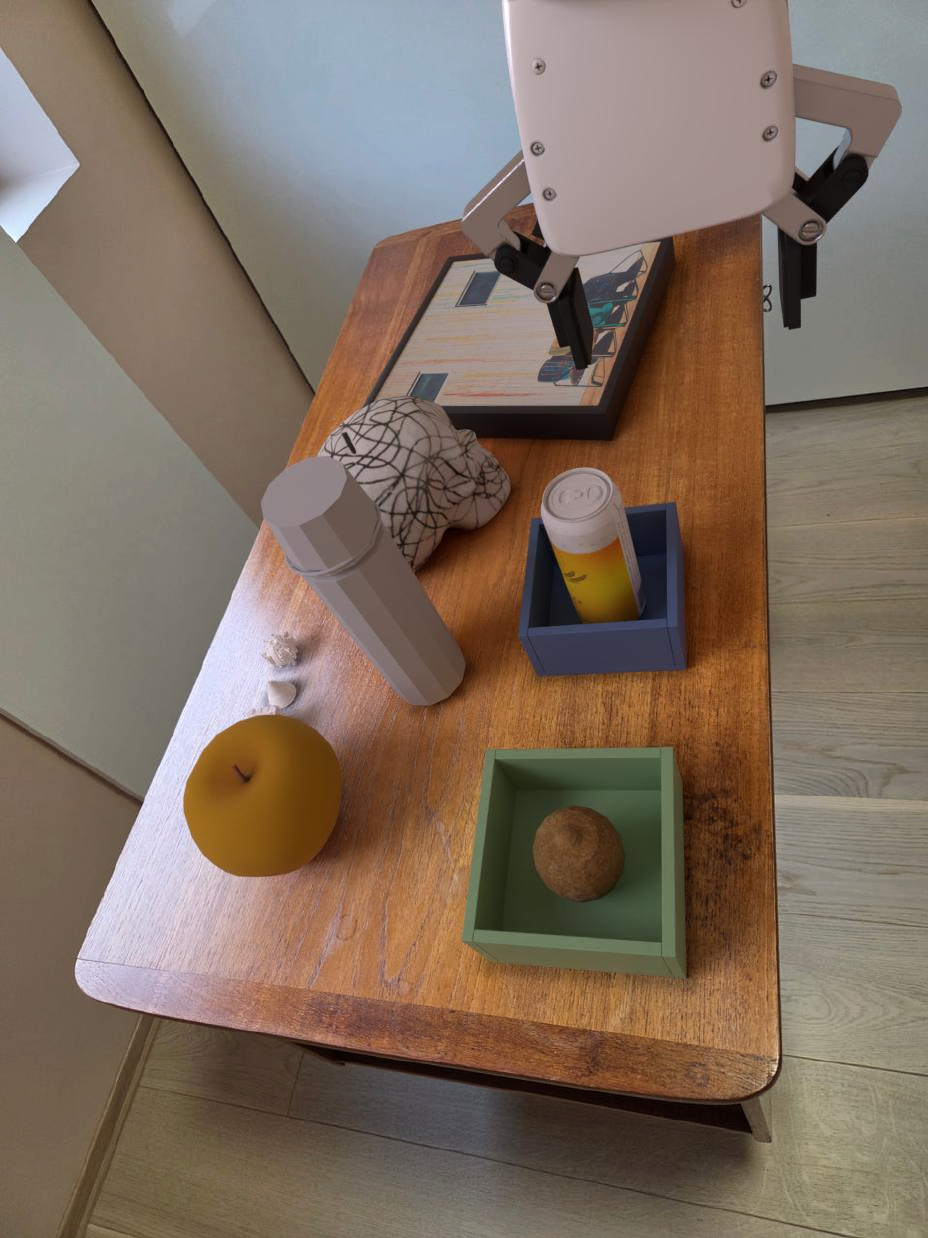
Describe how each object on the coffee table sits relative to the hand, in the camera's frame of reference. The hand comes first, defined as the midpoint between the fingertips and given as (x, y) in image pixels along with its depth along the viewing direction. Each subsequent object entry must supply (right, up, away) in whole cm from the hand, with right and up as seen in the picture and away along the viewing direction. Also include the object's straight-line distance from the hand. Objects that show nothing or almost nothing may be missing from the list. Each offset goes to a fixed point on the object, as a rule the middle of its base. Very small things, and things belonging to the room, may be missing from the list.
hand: (683, 332), depth 38 cm
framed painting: (-3, +19, +57) cm, 60 cm away
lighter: (+3, +37, +68) cm, 78 cm away
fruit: (-1, -32, +19) cm, 38 cm away
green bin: (-1, -33, +19) cm, 38 cm away
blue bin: (+3, -13, +31) cm, 34 cm away
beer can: (+3, -13, +31) cm, 34 cm away
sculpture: (-15, -5, +45) cm, 47 cm away
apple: (-24, -32, +30) cm, 50 cm away
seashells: (-28, -22, +39) cm, 52 cm away
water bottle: (-14, -19, +35) cm, 42 cm away
